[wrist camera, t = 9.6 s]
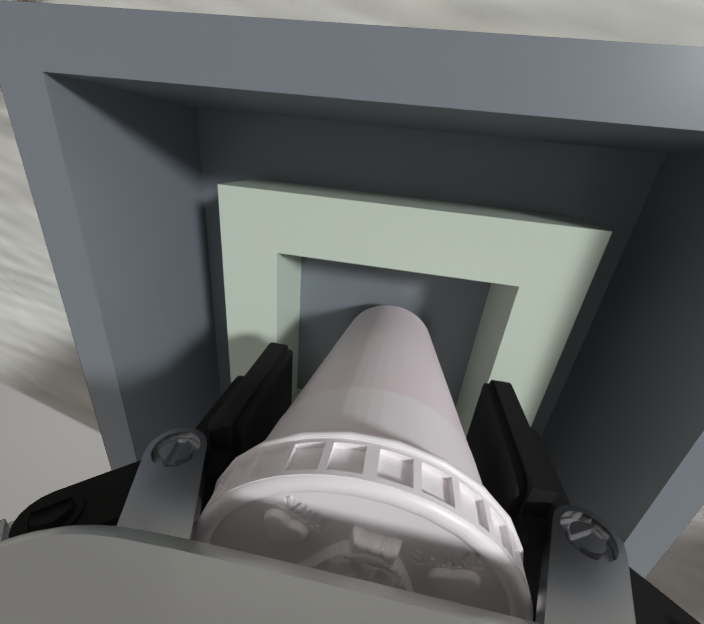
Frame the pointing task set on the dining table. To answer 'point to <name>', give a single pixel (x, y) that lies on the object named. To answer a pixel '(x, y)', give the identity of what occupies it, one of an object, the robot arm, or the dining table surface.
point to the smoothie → (374, 478)
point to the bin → (379, 223)
